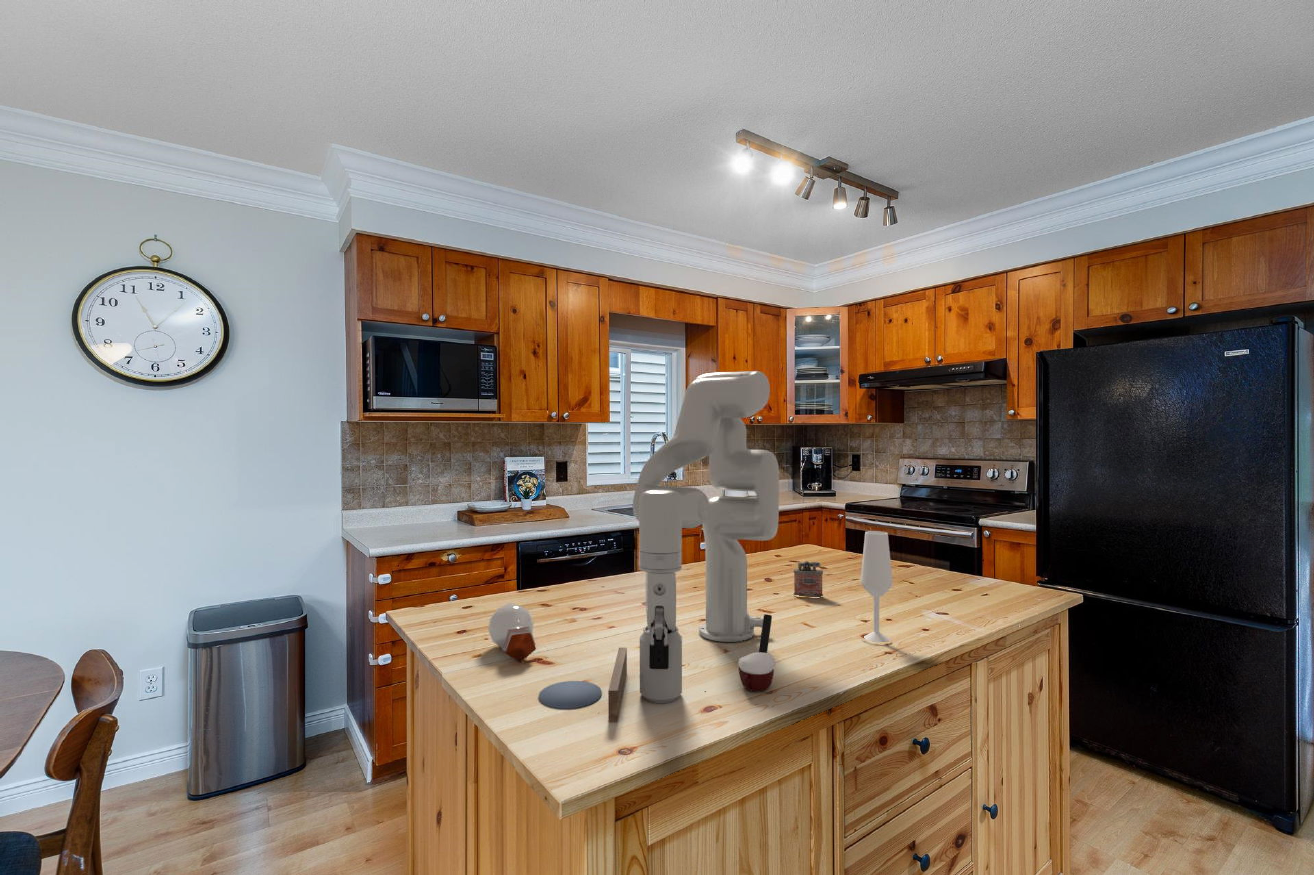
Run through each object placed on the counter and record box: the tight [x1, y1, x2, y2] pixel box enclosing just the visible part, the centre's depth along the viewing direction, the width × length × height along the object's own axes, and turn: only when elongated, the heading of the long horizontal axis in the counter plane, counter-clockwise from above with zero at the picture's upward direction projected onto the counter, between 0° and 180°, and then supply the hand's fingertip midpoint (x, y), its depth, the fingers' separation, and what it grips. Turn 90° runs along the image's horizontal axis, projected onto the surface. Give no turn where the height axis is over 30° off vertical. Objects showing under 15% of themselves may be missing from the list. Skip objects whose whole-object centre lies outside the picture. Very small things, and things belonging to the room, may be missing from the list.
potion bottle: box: [487, 603, 537, 663], centre depth 132 cm, size 9×10×15 cm
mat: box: [538, 680, 603, 710], centre depth 109 cm, size 11×11×1 cm
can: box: [639, 625, 683, 704], centre depth 109 cm, size 8×8×12 cm
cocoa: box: [737, 613, 776, 692], centre depth 113 cm, size 10×6×12 cm, turn 122°
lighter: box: [793, 560, 824, 597], centre depth 175 cm, size 8×3×10 cm, turn 80°
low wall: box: [607, 647, 628, 723], centre depth 109 cm, size 2×20×5 cm, turn 178°
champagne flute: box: [860, 530, 894, 642], centre depth 138 cm, size 7×7×24 cm
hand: (659, 658), depth 109 cm, fingers open, 9 cm apart
